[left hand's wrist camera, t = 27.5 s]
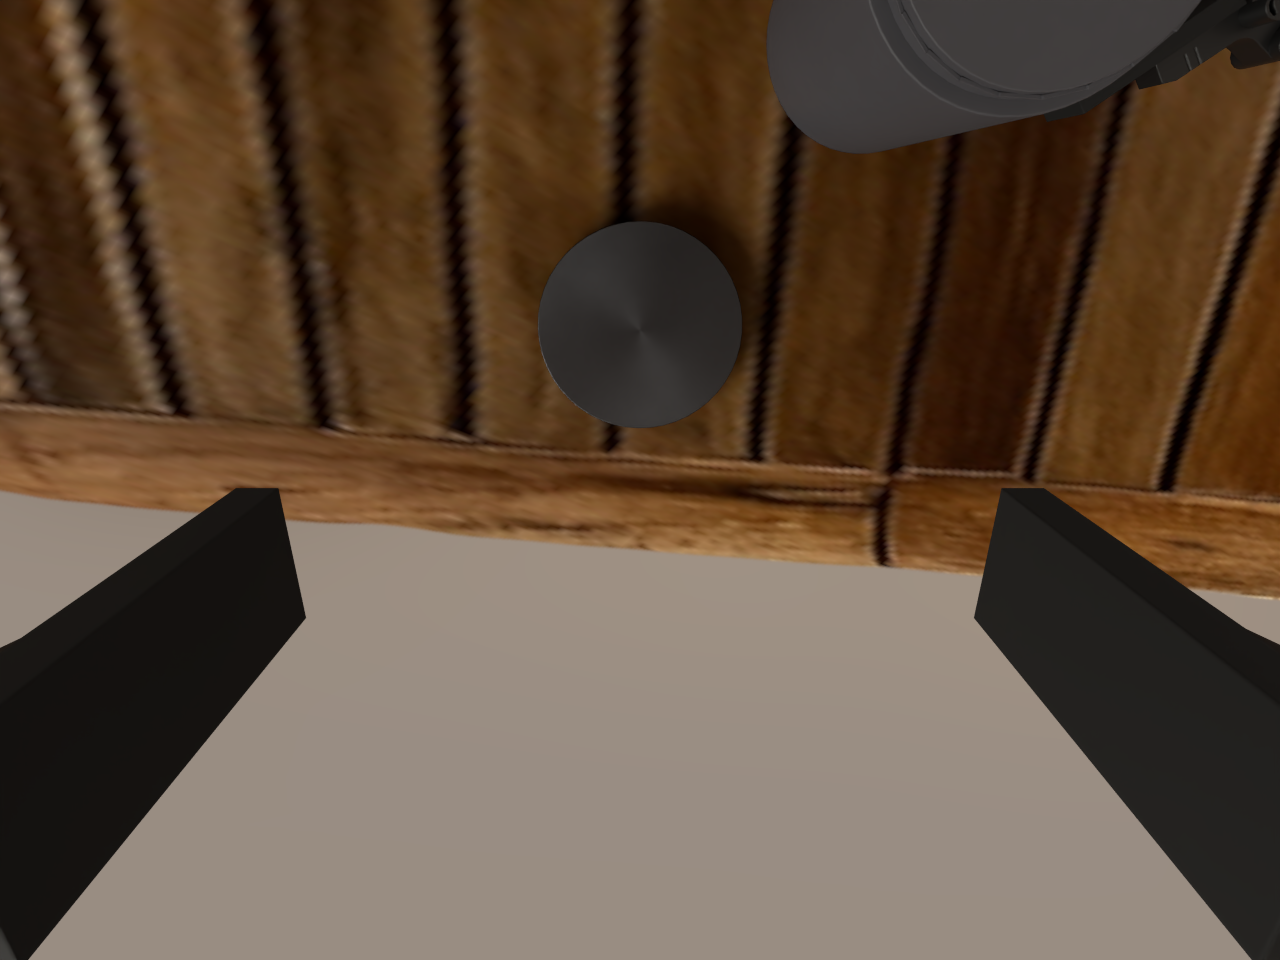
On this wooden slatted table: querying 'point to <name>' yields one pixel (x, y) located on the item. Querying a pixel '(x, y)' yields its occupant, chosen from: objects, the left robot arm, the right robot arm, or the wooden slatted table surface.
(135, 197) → the wooden slatted table surface
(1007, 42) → the jar
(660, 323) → the lid
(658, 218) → the wooden slatted table surface
